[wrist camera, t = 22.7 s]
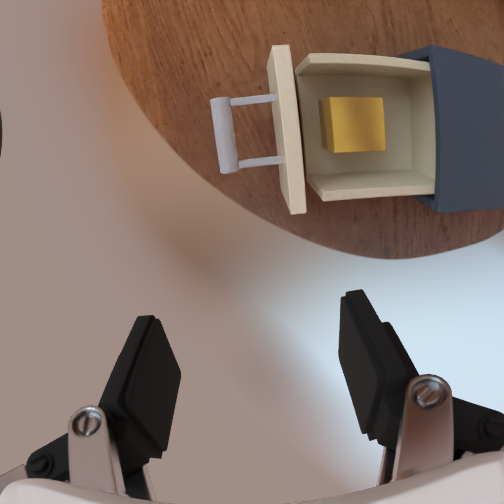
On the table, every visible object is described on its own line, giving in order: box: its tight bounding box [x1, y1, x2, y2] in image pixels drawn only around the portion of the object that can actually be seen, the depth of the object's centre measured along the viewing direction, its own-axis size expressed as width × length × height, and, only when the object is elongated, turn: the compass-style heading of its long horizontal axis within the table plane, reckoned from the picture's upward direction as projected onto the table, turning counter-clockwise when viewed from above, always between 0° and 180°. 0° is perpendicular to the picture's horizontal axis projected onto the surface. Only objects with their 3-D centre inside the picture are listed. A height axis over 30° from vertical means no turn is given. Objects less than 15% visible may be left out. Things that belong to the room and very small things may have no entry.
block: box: [318, 97, 386, 153], centre depth 23 cm, size 4×4×4 cm
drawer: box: [210, 45, 436, 214], centre depth 23 cm, size 20×12×8 cm, turn 97°
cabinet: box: [394, 45, 504, 213], centre depth 22 cm, size 16×14×10 cm
